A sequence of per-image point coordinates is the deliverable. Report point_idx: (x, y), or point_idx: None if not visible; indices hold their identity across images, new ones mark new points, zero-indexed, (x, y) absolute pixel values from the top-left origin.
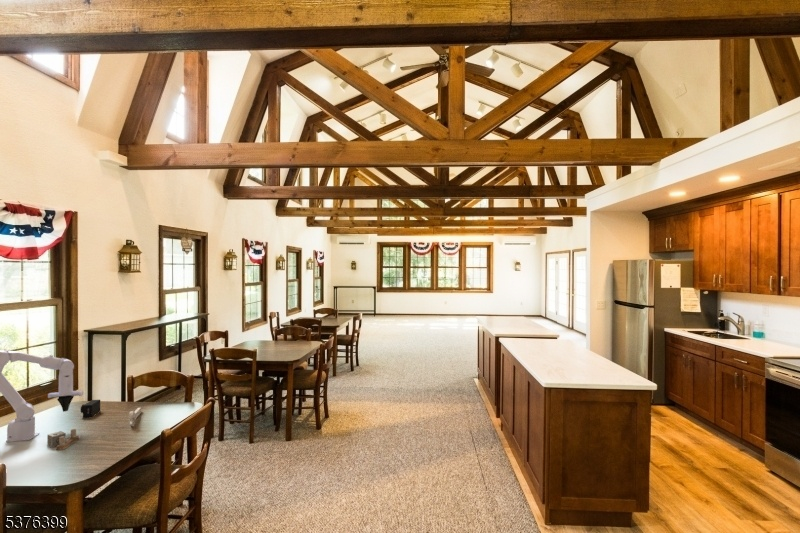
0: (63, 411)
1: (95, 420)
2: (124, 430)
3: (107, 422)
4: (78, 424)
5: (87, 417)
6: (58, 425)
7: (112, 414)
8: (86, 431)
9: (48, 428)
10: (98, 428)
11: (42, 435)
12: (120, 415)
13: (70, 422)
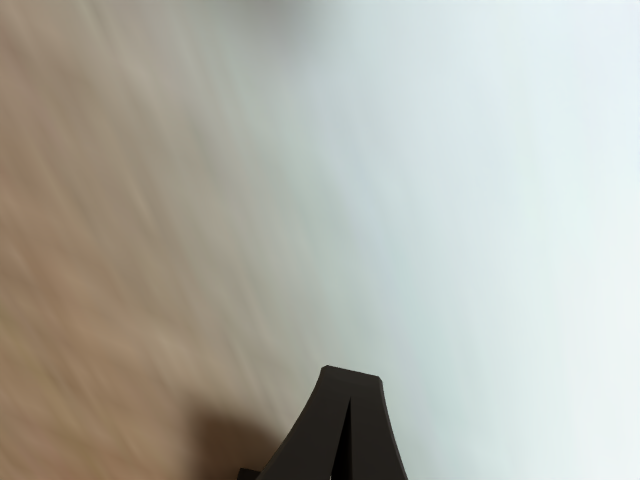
0: (373, 377)
1: (171, 381)
2: None
3: (23, 275)
4: (287, 338)
5: None
6: (477, 394)
7: (99, 463)
8: (90, 37)
9: (562, 349)
10: (5, 103)
11: (603, 109)
12: (17, 412)
13: None
